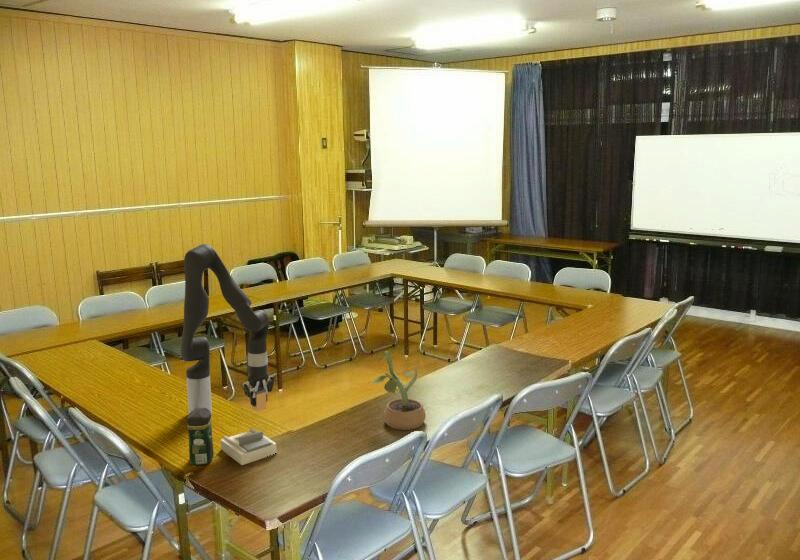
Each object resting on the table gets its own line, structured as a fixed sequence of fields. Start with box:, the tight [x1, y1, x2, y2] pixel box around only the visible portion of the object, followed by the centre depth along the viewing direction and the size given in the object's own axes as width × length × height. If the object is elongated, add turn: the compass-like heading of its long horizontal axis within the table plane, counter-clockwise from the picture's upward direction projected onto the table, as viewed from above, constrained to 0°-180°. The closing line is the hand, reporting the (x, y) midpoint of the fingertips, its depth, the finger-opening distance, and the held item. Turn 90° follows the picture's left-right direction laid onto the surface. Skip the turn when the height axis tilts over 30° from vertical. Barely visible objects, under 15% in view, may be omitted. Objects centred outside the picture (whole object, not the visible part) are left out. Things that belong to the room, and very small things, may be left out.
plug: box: [251, 388, 267, 412], centre depth 264 cm, size 4×4×9 cm
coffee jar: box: [186, 408, 214, 466], centre depth 242 cm, size 10×8×19 cm
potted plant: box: [370, 350, 427, 431], centre depth 274 cm, size 22×18×30 cm
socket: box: [220, 427, 278, 466], centre depth 250 cm, size 16×14×5 cm
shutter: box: [239, 430, 270, 452], centre depth 245 cm, size 6×9×3 cm
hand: (259, 404), depth 265 cm, fingers closed on plug, 4 cm apart
